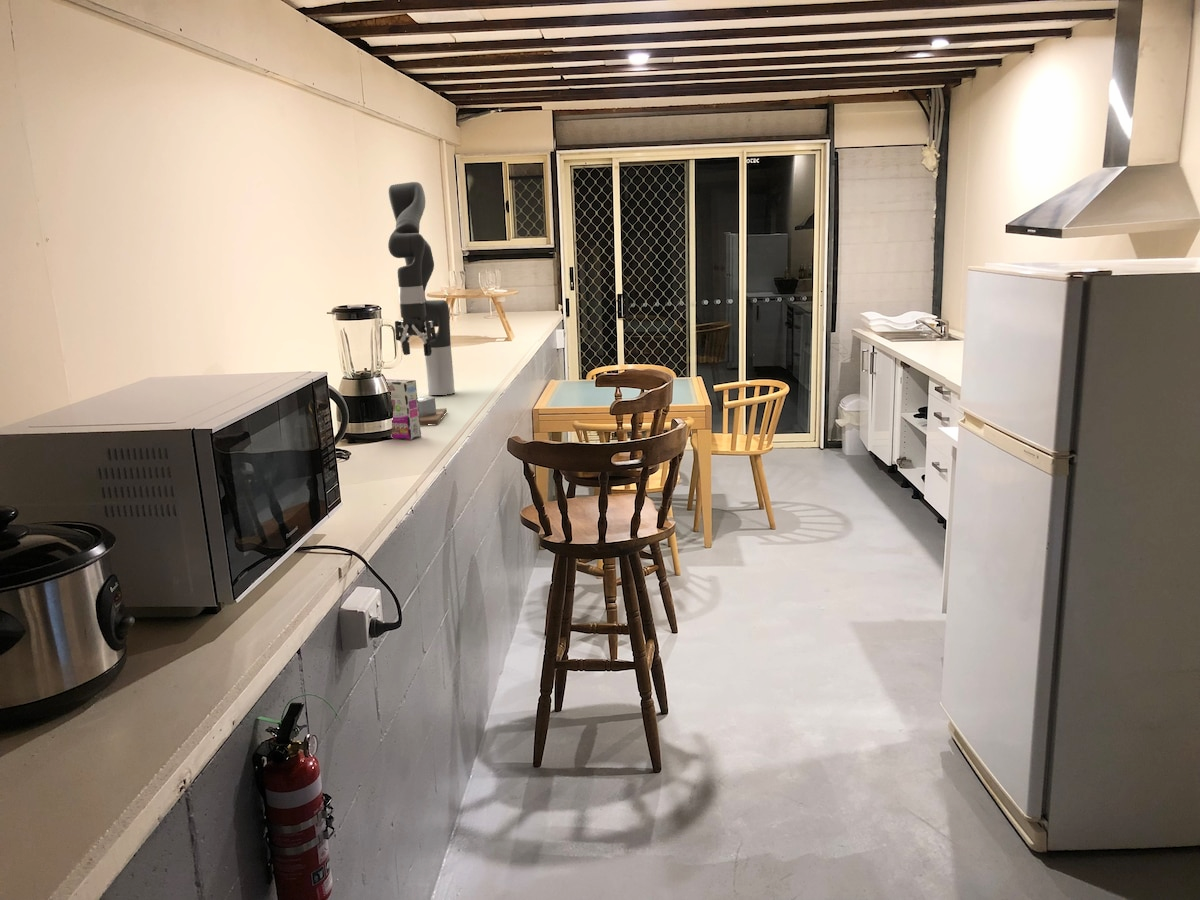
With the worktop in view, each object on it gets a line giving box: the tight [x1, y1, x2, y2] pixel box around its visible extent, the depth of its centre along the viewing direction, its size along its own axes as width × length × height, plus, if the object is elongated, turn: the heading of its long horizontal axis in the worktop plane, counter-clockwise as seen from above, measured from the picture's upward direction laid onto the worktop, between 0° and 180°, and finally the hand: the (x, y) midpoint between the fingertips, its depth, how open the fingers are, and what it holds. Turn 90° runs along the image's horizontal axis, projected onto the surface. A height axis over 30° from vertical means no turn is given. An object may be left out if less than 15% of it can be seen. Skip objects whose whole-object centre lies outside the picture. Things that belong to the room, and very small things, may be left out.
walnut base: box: [419, 407, 447, 426], centre depth 279 cm, size 18×12×2 cm, turn 0°
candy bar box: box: [386, 378, 422, 441], centre depth 254 cm, size 11×5×16 cm, turn 62°
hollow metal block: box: [417, 396, 437, 417], centre depth 278 cm, size 6×6×5 cm
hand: (417, 355), depth 274 cm, fingers open, 8 cm apart
